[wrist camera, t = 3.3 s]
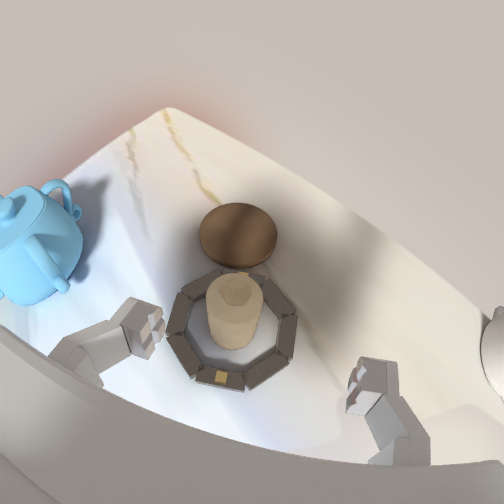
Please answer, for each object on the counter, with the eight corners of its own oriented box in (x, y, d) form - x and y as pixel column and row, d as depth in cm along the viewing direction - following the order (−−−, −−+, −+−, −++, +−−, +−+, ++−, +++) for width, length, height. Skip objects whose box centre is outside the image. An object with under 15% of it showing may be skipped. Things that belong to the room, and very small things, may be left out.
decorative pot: (78, 317, 34) (29, 260, 23) (-4, 312, 32) (-56, 262, 21) (98, 222, 43) (72, 155, 32) (22, 228, 41) (-11, 171, 30)
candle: (205, 346, 34) (199, 312, 26) (213, 305, 37) (211, 261, 29) (252, 353, 34) (261, 322, 26) (257, 311, 37) (267, 269, 29)
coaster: (279, 215, 47) (281, 210, 46) (270, 275, 41) (271, 270, 40) (210, 203, 47) (210, 197, 46) (190, 259, 41) (190, 254, 40)
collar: (299, 287, 40) (302, 280, 38) (285, 399, 31) (288, 397, 30) (188, 265, 40) (187, 258, 39) (156, 372, 32) (152, 368, 30)
